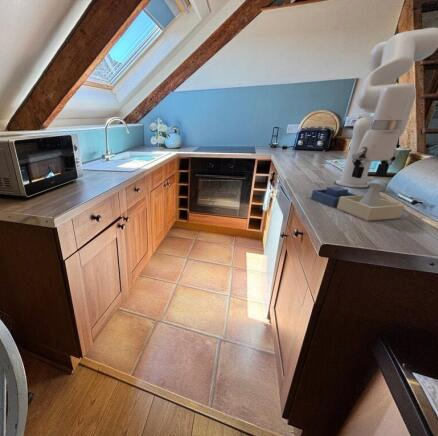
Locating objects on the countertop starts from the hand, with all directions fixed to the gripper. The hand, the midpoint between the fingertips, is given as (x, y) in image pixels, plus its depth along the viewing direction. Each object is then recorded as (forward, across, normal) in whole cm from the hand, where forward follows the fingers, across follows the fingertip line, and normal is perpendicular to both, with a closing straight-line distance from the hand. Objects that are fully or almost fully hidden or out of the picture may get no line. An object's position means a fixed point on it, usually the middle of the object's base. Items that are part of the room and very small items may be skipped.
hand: (368, 176), depth 88 cm
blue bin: (+12, +3, -7) cm, 15 cm away
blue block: (+11, +4, -7) cm, 14 cm away
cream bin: (+12, +2, +6) cm, 13 cm away
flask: (+11, +2, +6) cm, 13 cm away
